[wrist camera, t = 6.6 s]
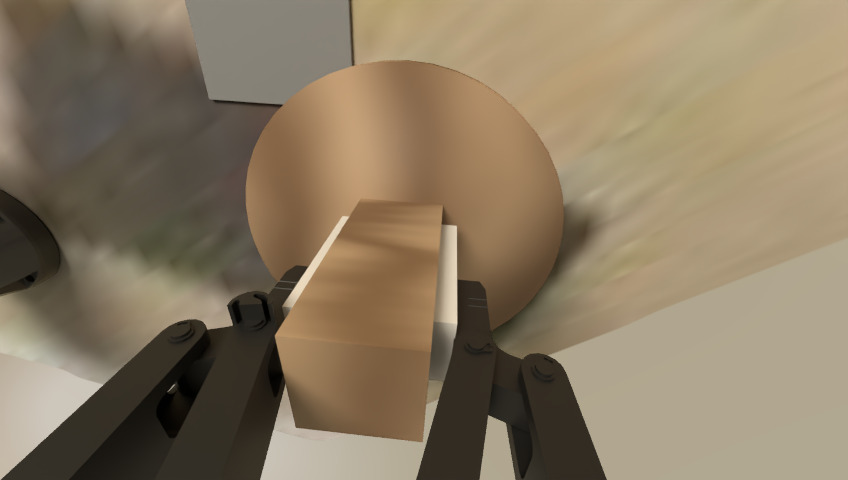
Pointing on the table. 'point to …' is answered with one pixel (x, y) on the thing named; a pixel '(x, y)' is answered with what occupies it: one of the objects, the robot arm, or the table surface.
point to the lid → (394, 230)
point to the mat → (269, 45)
